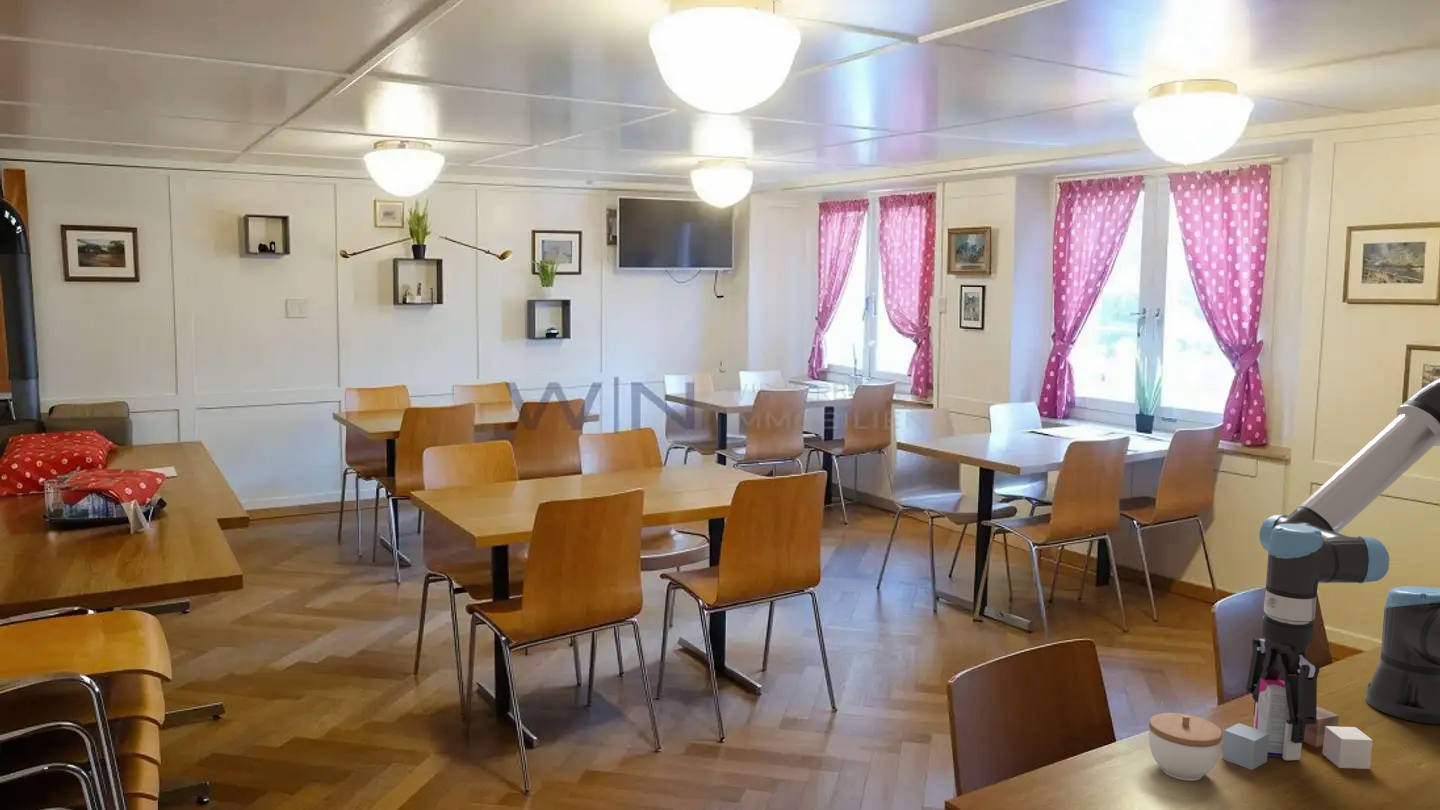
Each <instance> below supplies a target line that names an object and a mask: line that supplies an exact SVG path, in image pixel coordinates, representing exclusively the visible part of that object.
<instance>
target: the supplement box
mask: <svg viewBox="0 0 1440 810" xmlns="http://www.w3.org/2000/svg"><path fill="white" fill-rule="evenodd" d="M1297 716H1298V714H1297ZM1286 720H1290V716H1289V709H1288V703H1287V696H1286V689H1285V682H1284V681H1283V680H1282V679H1281V680H1280V679H1278V680H1265V679H1263V678H1261V679H1260V688H1259V698H1258V707H1257V716H1256V725H1255V729H1258V730H1261V731H1264V732H1267V733H1269V742H1268V753H1267V757H1269V756H1270V757H1279V758H1282V756H1283V746H1284V736H1285V725H1286Z"/></svg>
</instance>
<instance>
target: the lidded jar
mask: <svg viewBox="0 0 1440 810" xmlns="http://www.w3.org/2000/svg"><path fill="white" fill-rule="evenodd" d="M1148 723H1149V724H1148V727H1149V733H1148V735H1149V737H1148V739H1149V748H1150V752H1151V755H1152V757H1153V759H1154V761H1155V762H1156V764H1157V765H1158V766H1159V767H1160V768H1161V771H1162V770H1163V771H1162V772H1163V773H1164V772H1165V773H1166V775H1167V776H1168V777H1171V778H1173V779H1177V780H1180V781H1187V782H1190V781H1191V782H1195V781H1200V780H1201V779H1202V778H1203V776H1205V775H1207V774H1208V773H1210V772H1211V771H1212V770H1213V769H1214V767H1215V766H1216V763H1217V762H1218V760H1219V756H1220V753H1221V752H1220V751H1221V746H1222V745H1221V744H1222V743H1221V742H1222V739H1223V732H1222V729H1221V728H1220V727H1218V726H1217V725H1216V724H1215V723H1213V722H1211V721H1209V720H1206V718H1203V717H1200V716H1195V715H1193V714H1192V715H1191V714H1186V713H1180V712H1179V713H1178V712H1163V713H1158V714H1155V715H1153V716H1151V717H1150V719H1149V722H1148ZM1165 773H1164V774H1165Z"/></svg>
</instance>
